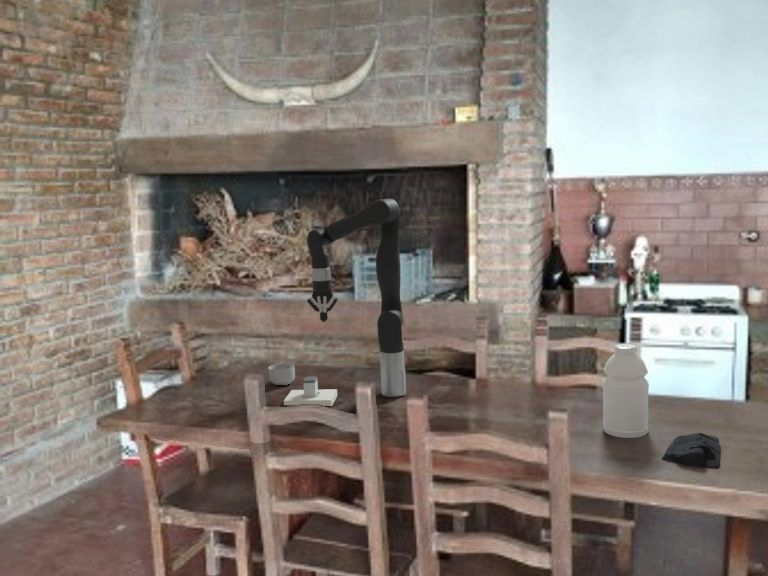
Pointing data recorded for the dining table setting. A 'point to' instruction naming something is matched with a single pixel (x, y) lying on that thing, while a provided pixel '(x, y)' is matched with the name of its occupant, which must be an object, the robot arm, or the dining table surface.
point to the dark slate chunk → (694, 451)
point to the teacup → (282, 373)
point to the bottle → (625, 394)
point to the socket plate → (324, 398)
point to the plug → (310, 387)
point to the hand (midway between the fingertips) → (324, 321)
